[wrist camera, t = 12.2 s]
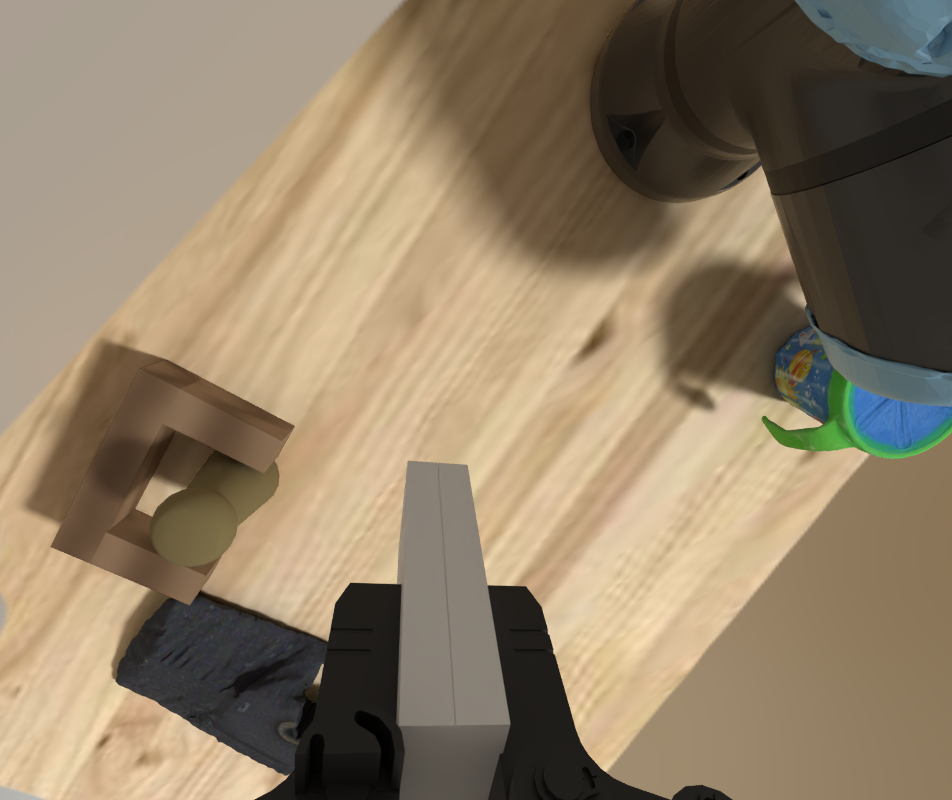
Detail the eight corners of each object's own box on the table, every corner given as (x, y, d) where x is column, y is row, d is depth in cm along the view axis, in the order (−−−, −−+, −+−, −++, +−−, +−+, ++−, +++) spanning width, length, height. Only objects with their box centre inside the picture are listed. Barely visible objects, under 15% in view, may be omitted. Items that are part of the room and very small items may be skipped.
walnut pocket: (294, 426, 42) (281, 441, 38) (209, 576, 45) (189, 605, 41) (166, 359, 40) (139, 368, 36) (84, 522, 42) (50, 546, 39)
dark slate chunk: (197, 553, 45) (172, 585, 40) (399, 671, 50) (396, 711, 45) (104, 676, 46) (69, 719, 42) (307, 777, 51) (296, 826, 47)
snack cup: (755, 457, 48) (842, 503, 38) (709, 363, 45) (790, 388, 35) (901, 368, 47) (1028, 392, 37) (863, 268, 44) (990, 265, 34)
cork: (190, 482, 43) (112, 550, 32) (230, 427, 42) (165, 477, 31) (253, 521, 44) (199, 598, 33) (293, 468, 43) (251, 529, 32)
